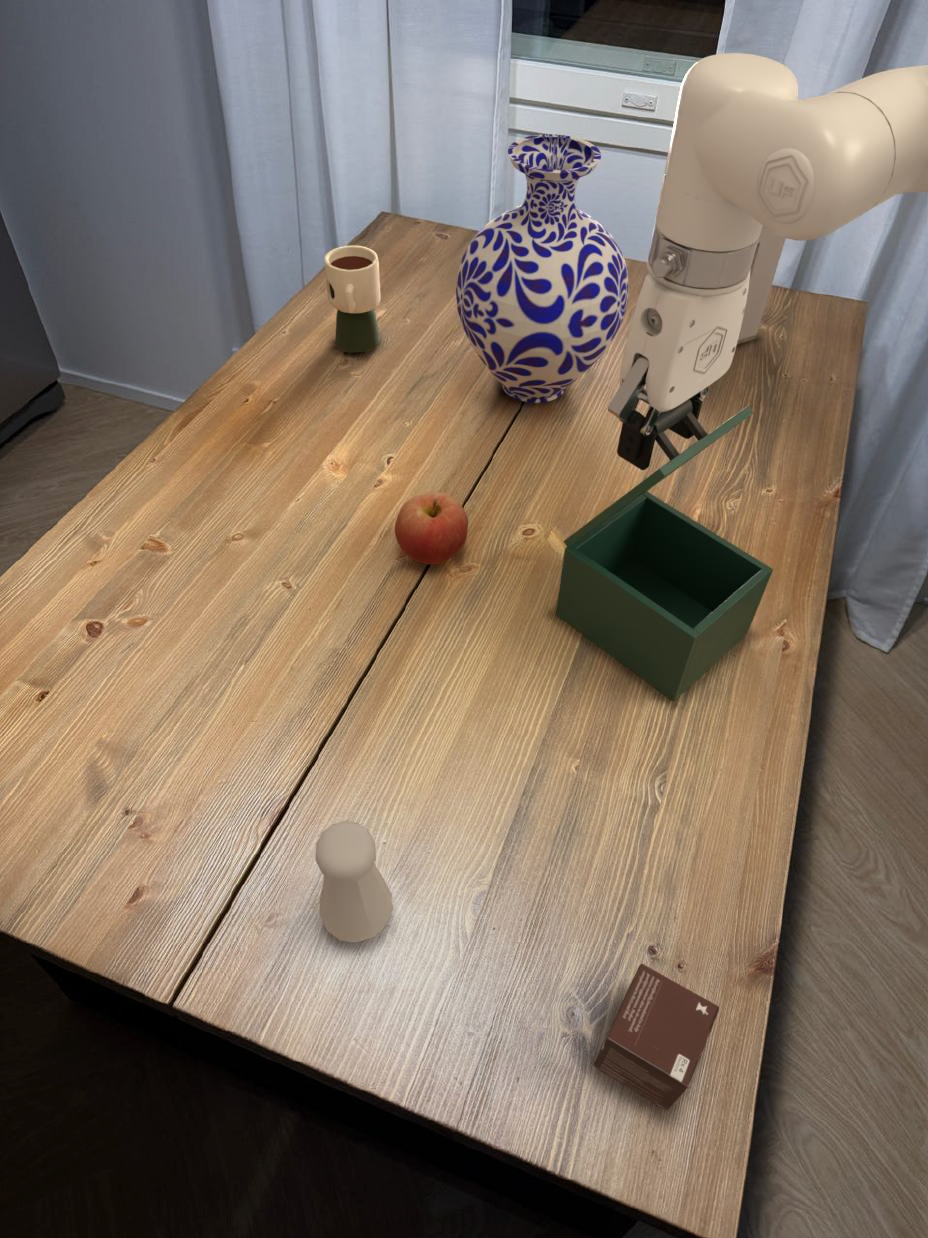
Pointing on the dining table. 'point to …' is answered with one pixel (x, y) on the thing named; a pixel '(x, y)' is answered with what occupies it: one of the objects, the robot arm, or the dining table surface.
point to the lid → (676, 459)
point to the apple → (431, 527)
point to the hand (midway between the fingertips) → (655, 444)
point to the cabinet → (760, 282)
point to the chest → (660, 593)
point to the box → (657, 1037)
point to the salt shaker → (351, 883)
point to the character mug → (354, 296)
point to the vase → (543, 277)
